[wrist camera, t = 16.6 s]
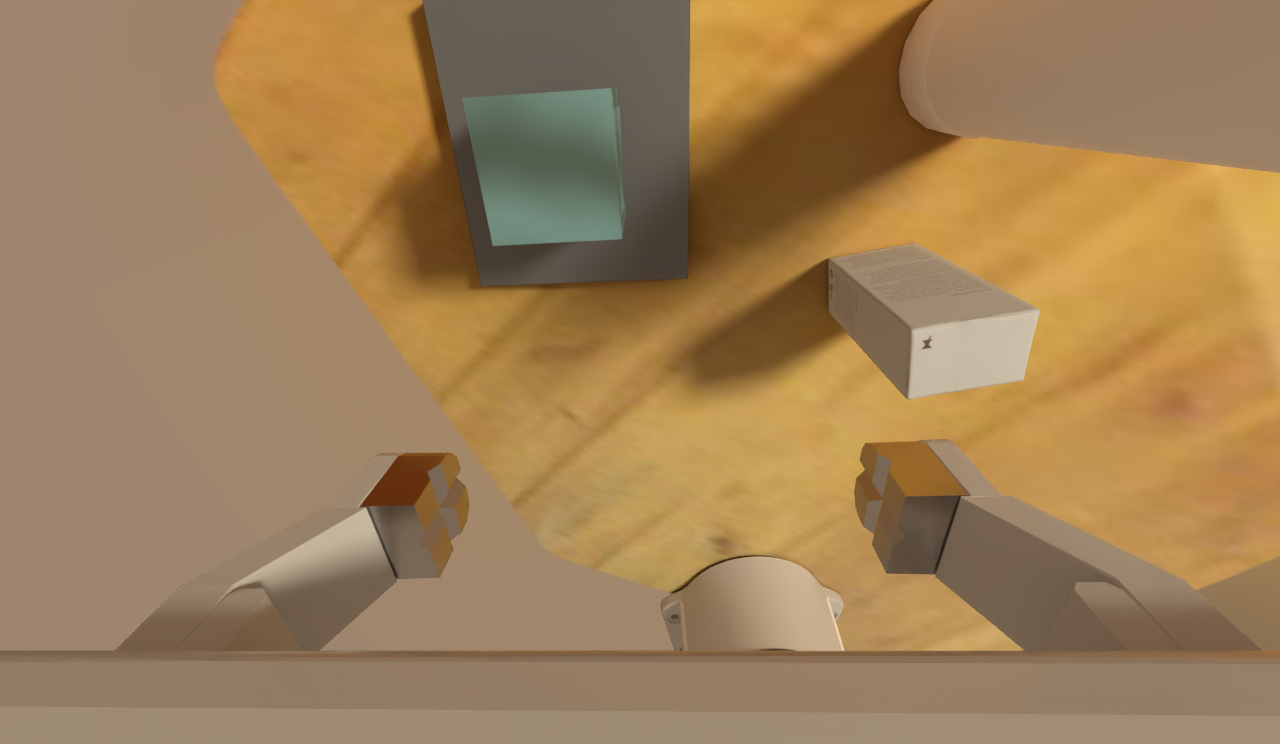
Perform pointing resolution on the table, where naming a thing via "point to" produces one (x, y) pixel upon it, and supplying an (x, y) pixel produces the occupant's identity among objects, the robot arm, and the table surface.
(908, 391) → the skincare box
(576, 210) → the sage green cube
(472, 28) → the post block
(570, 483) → the table surface
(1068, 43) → the bottle
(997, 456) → the table surface
